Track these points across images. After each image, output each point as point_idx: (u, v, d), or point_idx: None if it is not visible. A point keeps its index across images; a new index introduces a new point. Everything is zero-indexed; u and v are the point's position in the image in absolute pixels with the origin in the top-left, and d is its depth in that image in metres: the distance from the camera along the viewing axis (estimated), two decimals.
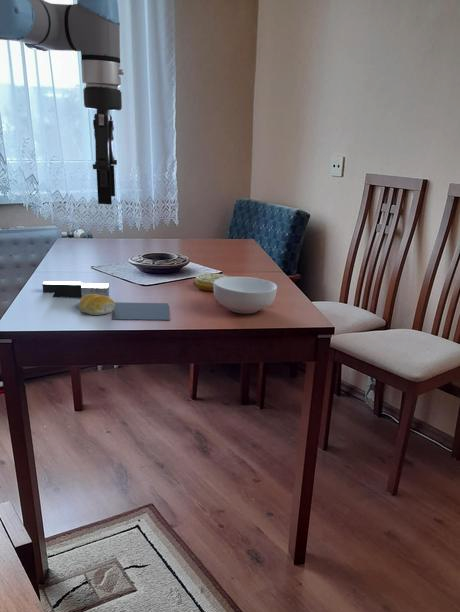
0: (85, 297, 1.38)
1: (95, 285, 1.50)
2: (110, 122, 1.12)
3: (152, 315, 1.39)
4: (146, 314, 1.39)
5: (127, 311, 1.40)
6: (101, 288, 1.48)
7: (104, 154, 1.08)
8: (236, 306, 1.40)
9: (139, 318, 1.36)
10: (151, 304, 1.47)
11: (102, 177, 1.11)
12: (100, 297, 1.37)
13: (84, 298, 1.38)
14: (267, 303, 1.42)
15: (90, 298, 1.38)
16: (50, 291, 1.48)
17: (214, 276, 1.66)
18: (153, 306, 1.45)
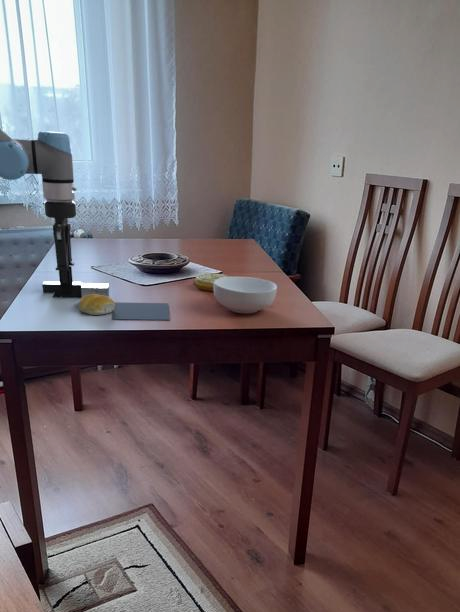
0: (85, 297, 1.38)
1: (95, 285, 1.50)
2: (66, 227, 1.40)
3: (152, 315, 1.39)
4: (146, 314, 1.39)
5: (127, 311, 1.40)
6: (101, 288, 1.48)
7: (63, 262, 1.41)
8: (236, 306, 1.40)
9: (139, 318, 1.36)
10: (151, 304, 1.47)
11: (63, 276, 1.44)
12: (100, 297, 1.37)
13: (84, 298, 1.38)
14: (267, 303, 1.42)
15: (90, 298, 1.38)
16: (50, 291, 1.48)
17: (214, 276, 1.66)
18: (153, 306, 1.45)
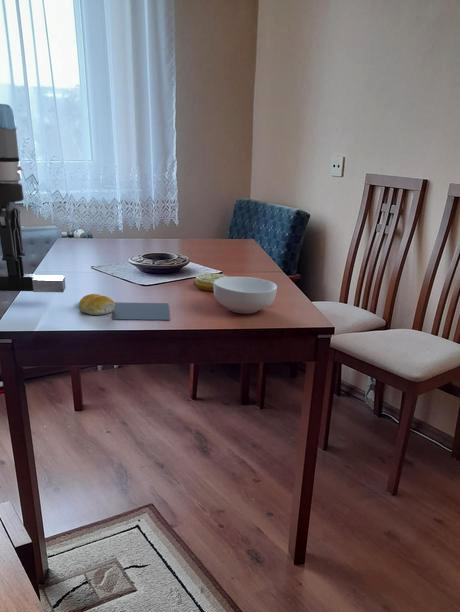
0: (85, 297, 1.38)
1: (49, 277, 1.35)
2: (13, 212, 1.25)
3: (152, 315, 1.39)
4: (146, 314, 1.39)
5: (127, 311, 1.40)
6: (55, 281, 1.33)
7: (9, 251, 1.26)
8: (236, 306, 1.40)
9: (139, 318, 1.36)
10: (151, 304, 1.47)
11: (11, 267, 1.29)
12: (100, 297, 1.37)
13: (84, 298, 1.38)
14: (267, 303, 1.42)
15: (90, 298, 1.38)
16: None
17: (214, 276, 1.66)
18: (153, 306, 1.45)
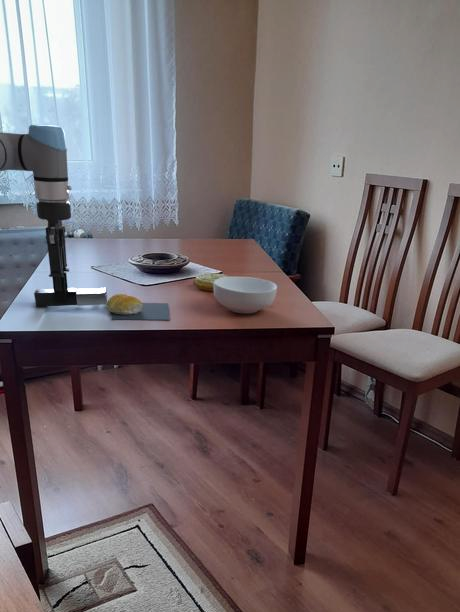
0: (113, 297, 1.39)
1: (91, 290, 1.37)
2: (60, 230, 1.28)
3: (152, 315, 1.39)
4: (146, 314, 1.39)
5: None
6: (98, 293, 1.36)
7: (57, 268, 1.29)
8: (236, 306, 1.40)
9: (139, 318, 1.36)
10: (151, 304, 1.47)
11: (57, 283, 1.32)
12: (128, 297, 1.38)
13: (112, 298, 1.39)
14: (267, 303, 1.42)
15: (118, 298, 1.39)
16: (42, 300, 1.36)
17: (214, 276, 1.66)
18: (153, 306, 1.45)
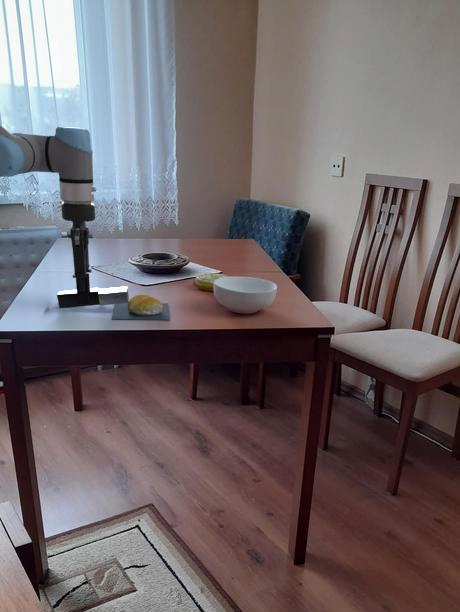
0: (134, 297, 1.40)
1: (113, 289, 1.38)
2: (85, 231, 1.29)
3: (152, 315, 1.39)
4: None
5: (127, 311, 1.40)
6: (120, 292, 1.37)
7: (81, 269, 1.30)
8: (236, 306, 1.40)
9: (139, 318, 1.36)
10: None
11: (80, 284, 1.33)
12: (148, 298, 1.38)
13: (133, 298, 1.40)
14: (267, 303, 1.42)
15: (139, 299, 1.39)
16: (65, 302, 1.36)
17: (214, 276, 1.66)
18: None
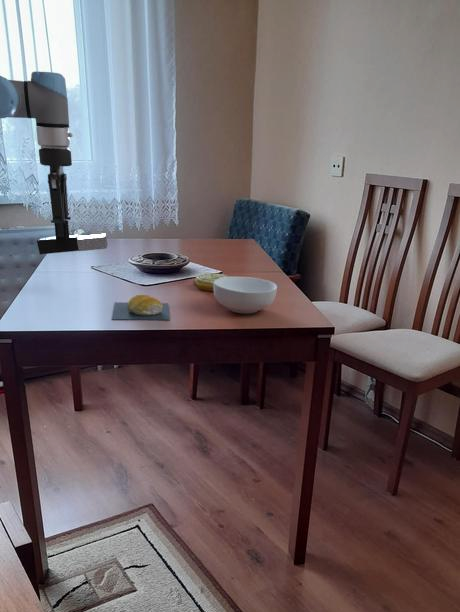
0: (134, 297, 1.40)
1: (91, 236, 1.43)
2: (62, 176, 1.34)
3: (152, 315, 1.39)
4: None
5: (127, 311, 1.40)
6: (97, 238, 1.41)
7: (59, 213, 1.34)
8: (236, 306, 1.40)
9: (139, 318, 1.36)
10: None
11: (59, 229, 1.38)
12: (148, 298, 1.38)
13: (133, 298, 1.40)
14: (267, 303, 1.42)
15: (139, 299, 1.39)
16: (45, 247, 1.41)
17: (214, 276, 1.66)
18: None
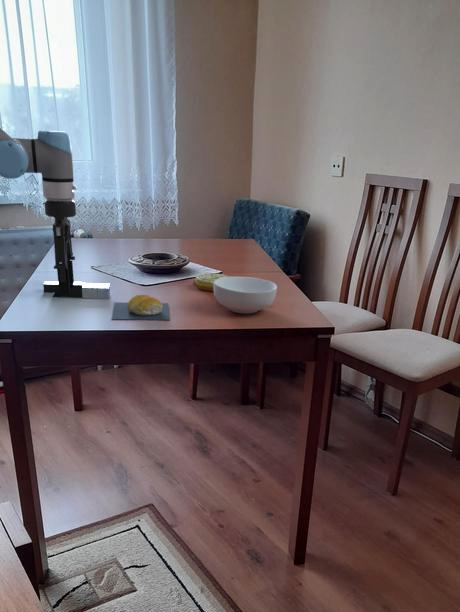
0: (134, 297, 1.40)
1: (96, 285, 1.50)
2: (66, 226, 1.40)
3: (152, 315, 1.39)
4: None
5: (127, 311, 1.40)
6: (102, 288, 1.48)
7: (62, 259, 1.38)
8: (236, 306, 1.40)
9: (139, 318, 1.36)
10: None
11: (61, 274, 1.42)
12: (148, 298, 1.38)
13: (133, 298, 1.40)
14: (267, 303, 1.42)
15: (139, 299, 1.39)
16: (50, 291, 1.48)
17: (214, 276, 1.66)
18: None
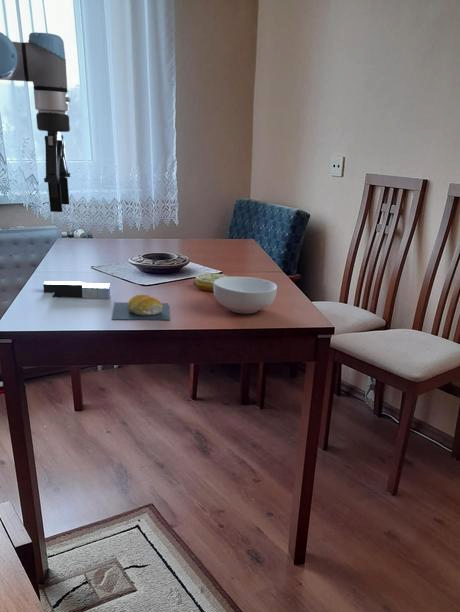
0: (134, 297, 1.40)
1: (96, 285, 1.50)
2: (60, 142, 1.31)
3: (152, 315, 1.39)
4: None
5: (127, 311, 1.40)
6: (102, 288, 1.48)
7: (53, 170, 1.27)
8: (236, 306, 1.40)
9: (139, 318, 1.36)
10: None
11: (52, 189, 1.30)
12: (148, 298, 1.38)
13: (133, 298, 1.40)
14: (267, 303, 1.42)
15: (139, 299, 1.39)
16: (50, 291, 1.48)
17: (214, 276, 1.66)
18: None
